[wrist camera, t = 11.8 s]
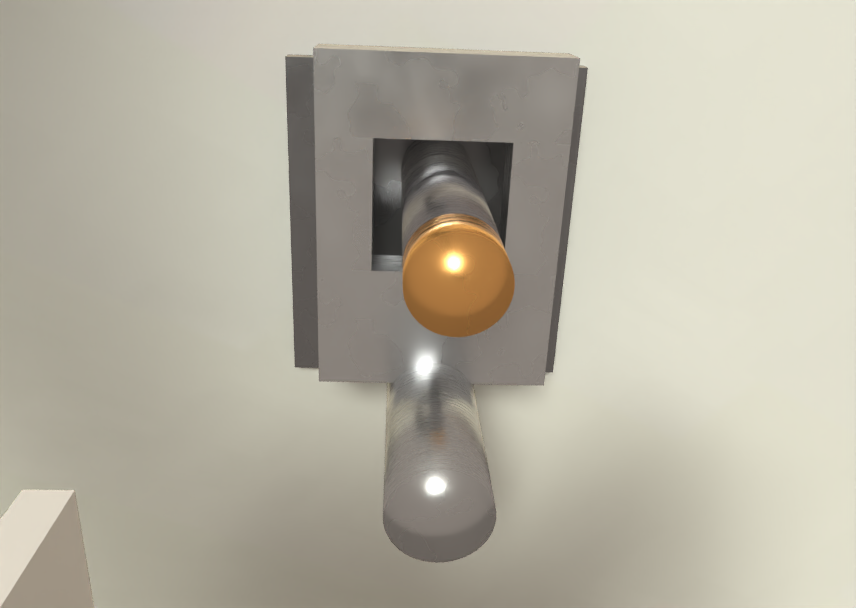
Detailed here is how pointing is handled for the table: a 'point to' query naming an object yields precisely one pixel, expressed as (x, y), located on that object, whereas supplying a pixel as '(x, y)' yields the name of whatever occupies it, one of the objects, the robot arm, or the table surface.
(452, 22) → the table surface
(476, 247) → the copper tipped metal rod
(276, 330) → the table surface
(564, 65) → the square hole plate
